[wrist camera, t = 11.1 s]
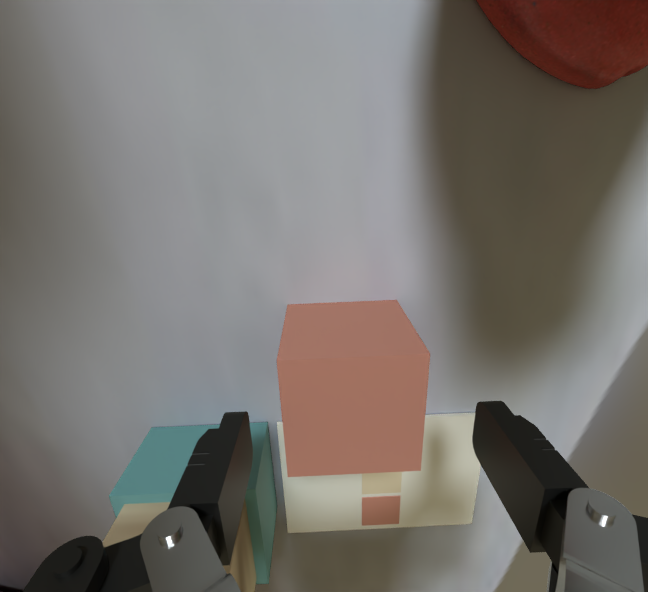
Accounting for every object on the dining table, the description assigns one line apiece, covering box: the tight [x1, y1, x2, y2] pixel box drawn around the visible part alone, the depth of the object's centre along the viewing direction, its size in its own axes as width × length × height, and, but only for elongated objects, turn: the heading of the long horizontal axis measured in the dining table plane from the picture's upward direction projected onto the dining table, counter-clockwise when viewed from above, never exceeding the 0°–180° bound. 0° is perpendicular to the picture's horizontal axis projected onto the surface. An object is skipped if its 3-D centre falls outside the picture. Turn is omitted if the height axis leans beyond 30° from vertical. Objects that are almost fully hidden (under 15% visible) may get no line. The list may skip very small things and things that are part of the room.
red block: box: [277, 300, 430, 477], centre depth 15 cm, size 5×5×5 cm
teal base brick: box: [109, 422, 277, 584], centre depth 17 cm, size 6×6×4 cm
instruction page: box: [277, 412, 481, 533], centre depth 19 cm, size 8×11×1 cm
